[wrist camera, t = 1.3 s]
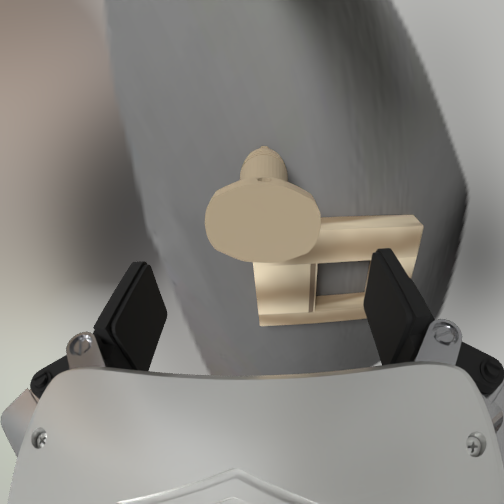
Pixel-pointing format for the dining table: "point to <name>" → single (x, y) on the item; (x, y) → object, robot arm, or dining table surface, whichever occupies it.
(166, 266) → the dining table surface
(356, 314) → the board
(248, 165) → the handle
